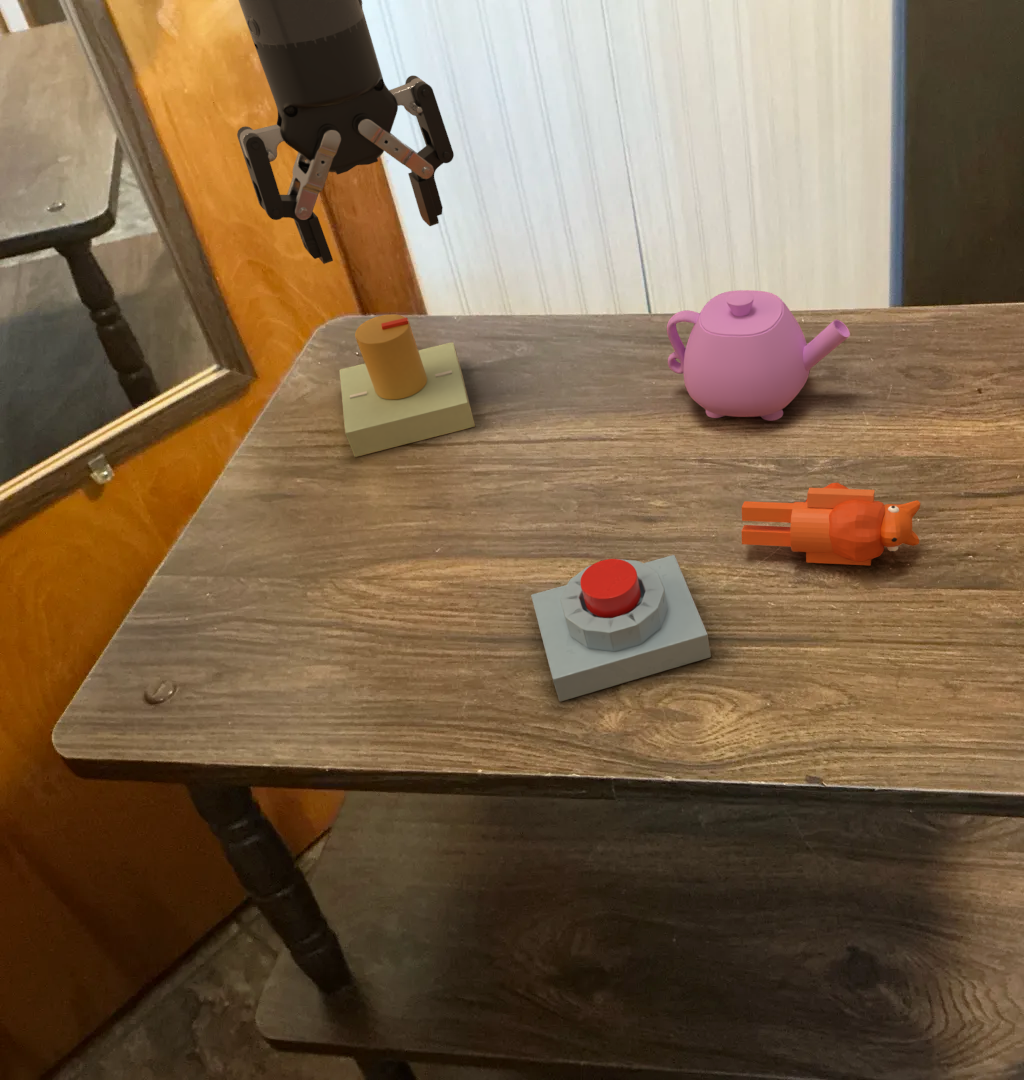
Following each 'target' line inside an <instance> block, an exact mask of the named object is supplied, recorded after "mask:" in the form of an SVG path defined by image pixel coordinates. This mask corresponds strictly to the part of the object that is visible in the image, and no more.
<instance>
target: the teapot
mask: <svg viewBox="0 0 1024 1080" xmlns="http://www.w3.org/2000/svg"><path fill="white" fill-rule="evenodd" d="M683 322H684V323H691V324H693V326H692V327H691V328H692V329H691V331H690V333H689V336H688V339H687V342H686V346H685V344H684V343H683V341H682V339H681V337H680V334H679V332H678V329H677V324H678V323H683ZM666 335H667V337H668V340H669V342H670V345H671V347H672V349H673V352H671V353H670V354H669V355H668V358H667V366H668V368H669V370H671V371H672V372H673V373H676V374H679V375H683V383H684V387H685V389H686V391H687V394H688V395H689V397H690V398H691V399H692V400H693V401H694V402H695V403H696V404H698V405H699V406H700V407H701V408H703V409H704V410H705V414H706V416H707V417H709V418H712V419H720V418H723V417H725V416H726V417H738V418H755V417H761V419H763V420H764V421H771V422H773V421H777V420H779V419H781V418H782V417H783V415H784V411H783V409H785V408H786V407H787V406H788V405H790V403H792V401H794V399H795V398H796V397H797V396H798V394H799V393H800V392H801V391H802V389H803V388H804V386H805V385H806V383H807V380H808V378H809V376H810V371H811V369H812V368H813V367H815V366H816V365H817V364H818V363H819V362H821V361H822V360H823V359H824V358H825V357H827V356H828V355H829V354H830V353H831V352H833V351H834V350H835V349H837V348H838V347H839V346H840V345H841V344H842V343H843V342H845V341H846V340H847V339H848V338H849V337H850V336H851V332H850V329H849V328H848V327H847V325H846V324H845V323H844V322H843V321H841V320H840V319H837V318H835V319H833V320H832V321H831V322H830V323H829V324H828V325H827V326H826V327H824V328H823V329H822V330H821V331H820V332H819V333H818V334H817V335H815V337H814V338H813V339H812V340H810V341H809V342H808V343H807V340H806V336H805V335H804V332H803V329H802V328H801V326H800V324H799V322H798V320H797V319H796V318H795V316H794V314H793V312H792V311H791V310H790V308H789V307H788V306H787V304H786V303H785V302H784V301H783V300H782V298H780V296H779V295H777V294H774V293H773V292H770V291H763V290H753V289H747V290H745V289H740V290H729V291H728V290H727V291H724V292H721V293H719V294H717V295H715V296H713V297H712V298H711V299H709V300H708V301H707V302H706V303H705V304H704V305H703V307H702V308H701V310H700V311H699V312H697V311H694V310H689V309H688V310H680V311H677V312H676V313H675V314H673V315H672V316H671V317H670V318H669V320H668V322H667V324H666ZM676 359H678V360H679V361H678V360H676Z"/></svg>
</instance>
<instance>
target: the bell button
mask: <svg viewBox="0 0 1024 1080" xmlns="http://www.w3.org/2000/svg"><path fill="white" fill-rule="evenodd" d="M620 559H621V558H608V559H607V558H606V559H602V560H600V561H597V562H595V563H593V564H590V565H591V566H590V565H589V566H590V567H589V568H587V569H586V570H585V572H584V573H583V575H582V577H581V581H580V585H581V589H582V593H583V597H584V601H585V605H586V607H587V609H588V610H589V611H590V612H591V613H593V614H594V615H597V616H599V617H605V618H612V617H617V616H621V615H624V614H626V613H628V612H630V611H631V610H632V609H633V608H635V606H636V605H637V604H638V602H639V600H640V597H641V591H640V586H639V581H638V576H637V572H636V570H635V568H634V567H633V566H632V565H631V564H630V563H628V562H626V561H624V560H625V559H624V560H620Z"/></svg>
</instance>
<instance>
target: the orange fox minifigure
mask: <svg viewBox="0 0 1024 1080" xmlns="http://www.w3.org/2000/svg"><path fill="white" fill-rule="evenodd" d="M806 495H807V496H806V500H805V501H794V502H771V501H749V500H748V501H746V500H745V501H743V503H742V506H741V522H760V523H761V522H763V523H784V524H785V523H787V524H789V523H790V526H784V525H783V526H782V525H781V526H780V525H779V526H778V525H760V524H759V525H756V524H744V525H743V527H742V529H741V545H746V546H747V545H750V546H752V545H753V546H772V547H790V550H791V552H794V553H795V552H797V553H805V563H810V564H811V563H812V564H814V563H815V564H829V565H832V564H834V565H851V566H852V565H853V566H854V565H856V566H871V564H872V560H873V559H875V558H878V557H880V556H881V555H882V554H883V552H884V551H885V548H886V549H887V550H888V551H889V552H891V553H895V552H896V551H898V550H899V546H901V545H903V544H904V545H908V546H913V547H914V546H917V545H919V544H920V538H919V536H918V535H917V533H916V532H915V531H914V530H913V518H914V516H915V515H916V514H917V513H918V511H919V510H920V508H921V502H920V501H919V500H918V499H917V500H914V501H909V502H905V503H900V504H899V503H897V504H895V503H886V504H885V503H884V502H882V501H879V500H875V489H860V488H859V489H857V488H849V487H847V486H845V485H843V484H841V483H839V482H832V483H829V484H827V485H826V486H824V487H809V488H808V491H807V494H806Z"/></svg>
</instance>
